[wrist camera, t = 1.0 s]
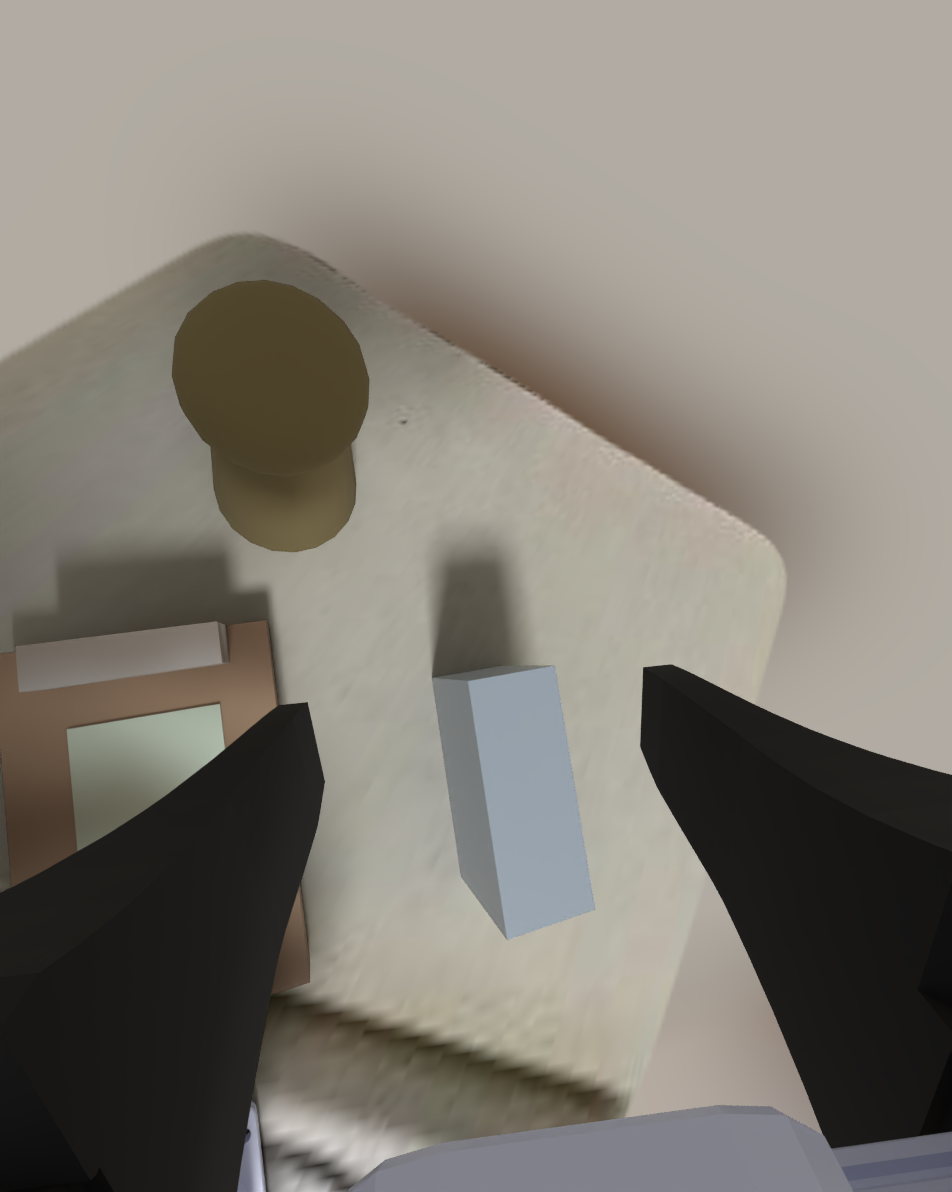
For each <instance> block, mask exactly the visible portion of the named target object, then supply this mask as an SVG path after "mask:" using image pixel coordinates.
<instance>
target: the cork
mask: <svg viewBox="0 0 952 1192" xmlns="http://www.w3.org/2000/svg"><path fill="white" fill-rule="evenodd" d="M172 378H173V382H174V385H175V389H176V393H177V396H178V400H179V403H180V406H181V408H182V410H183V412H184V414H185V415H186V417H187V418H188V420H189V421H190V423H191V424H192V425H193V427H194V428H195V430H196V431H197V433H198V434H199V436H200V437H201V439H202V440H203V441H205V442H206V443H207V444H208V445H210V446H211V458H212V471H213V484H214V491H215V495H216V499H217V502H218V506H219V509H220V511H221V513H222V514H223V515H224V517H225V518H226V520H227V521H228V523H229V524H230V526H231V527H232V528H233V529H234V530H235V531H236V532H238V533H239V534H240V535H242V536H243V537H244V538H246V539H247V540H248V541H250V542H251V543H254V544H256V545H259V546H262V547H264V548H267V549H270V550H272V551H285V552H298V551H303V550H307V549H311V548H316V547H318V546H320V545H321V544H323V543H325V542H326V541H328V540H330V539H332V538H333V537H335V536H336V535H337V533H338V532H339V531H340V530H341V529H342V528H343V527H344V525H345V524H346V523H347V522H348V520H349V518H350V515H351V513H352V510H353V508H354V505H355V498H356V479H355V472H354V465H353V458H352V451H351V443H352V442H353V441H354V440H355V439H356V438H357V435H358V433H359V430H360V428H361V425H362V423H363V420H364V418H365V416H366V412H367V409H368V400H369V377H368V373H367V369H366V366H365V362H364V359H363V356H362V352H361V349H360V345H359V343H358V342H357V340H356V339H355V337H354V336H353V334H352V333H351V331H350V330H349V328H348V327H347V325H346V324H345V322H344V321H343V320H342V319H341V318H340V317H338V316H337V315H336V314H335V313H334V312H333V311H332V310H330V309H329V308H328V307H327V306H326V305H325V304H324V303H322V302H321V301H320V300H319V299H317V298H316V297H314V296H312V295H310V294H308V293H306V292H304V291H302V290H300V289H298V288H296V287H294V286H291V285H286V284H281V283H276V282H271V281H267V280H260V281H245V282H236V283H234V284H231V285H229V286H226V287H224V288H221V289H218V290H216V291H213V292H212V293H211V294H209V295H208V296H207V297H206V298H204V299H203V300H202V301H201V302H200V303H199V304H198V305H196V306H195V307H194V308H193V309H192V310H191V311H189V312H188V313H187V315H186V317H185V319H184V321H183V323H182V325H181V327H180V329H179V331H178V333H177V335H176V336H175V344H174V354H173V365H172Z"/></svg>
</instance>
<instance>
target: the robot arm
mask: <svg viewBox="0 0 952 1192" xmlns="http://www.w3.org/2000/svg"><path fill="white" fill-rule="evenodd" d="M640 747H641V750H642V752H643V755H644V757H645V760H646V762H647V765H648V767H649V770H650V772H651V774H652V777H653V779H654V781H655V783H656V786H657V788H658V790H659V791H660V793H661V795H662V797H663V798H664V800H665V802H666V804H667V805H668V807H669V809H670V810H671V812H672V814H673V816H674V817H675V819H676V821H677V822H678V824H679V826H680V828H681V829H682V831H683V833H684V834H685V836H686V838H687V839H688V841H689V843H690V844H691V846H692V848H693V849H694V851H695V853H696V854H697V856H698V858H699V860H700V861H701V863H702V865H703V866H704V868H705V870H706V871H707V873H708V875H709V876H710V878H711V880H712V882H713V883H714V885H715V887H716V889H717V891H718V893H719V895H720V896H721V898H722V900H723V902H724V904H725V906H726V908H727V910H728V913H729V915H730V917H731V919H732V921H733V923H734V925H735V928H736V929H737V932H738V934H739V936H740V938H741V940H742V943H743V945H744V947H745V949H746V951H747V953H748V955H749V958H750V960H751V962H752V964H753V967H754V969H755V971H756V973H757V976H758V978H759V980H760V983H761V985H762V987H763V990H764V992H765V994H766V996H767V999H768V1001H769V1003H770V1005H771V1007H772V1010H773V1012H774V1015H775V1017H776V1019H777V1022H778V1024H779V1027H780V1029H781V1032H782V1034H783V1036H784V1039H785V1041H786V1044H787V1046H788V1048H789V1050H790V1053H791V1056H792V1058H793V1060H794V1063H795V1065H796V1068H797V1070H798V1072H799V1075H800V1077H801V1080H802V1082H803V1085H804V1087H805V1090H806V1092H807V1095H808V1097H809V1100H810V1103H811V1105H812V1107H813V1110H814V1113H815V1115H816V1118H817V1120H818V1123H819V1126H820V1128H821V1131H822V1133H823V1135H822V1134H820V1133H818V1132H817V1131H815V1130H813V1129H811V1128H809V1127H808V1126H806V1125H804V1124H802V1123H800V1122H798V1121H797V1120H794V1119H793V1118H791V1117H789V1116H787V1115H785V1114H783V1113H782V1112H780V1111H778V1110H776V1109H774V1108H772V1107H766V1106H726V1105H715V1106H708V1107H701V1108H693V1109H686V1110H679V1111H672V1112H664V1113H657V1114H650V1115H642V1116H636V1117H628V1118H621V1119H613V1120H606V1121H599V1122H591V1123H584V1124H577V1125H570V1126H562V1127H555V1128H548V1129H541V1130H533V1131H526V1132H519V1133H511V1134H504V1135H497V1136H490V1137H482V1138H475V1139H468V1140H461V1141H453V1142H446V1143H440V1144H437V1145H433V1146H430V1147H427V1148H423V1149H420V1150H417V1151H413V1152H410V1153H407V1154H403V1155H400V1156H397V1157H393V1158H390V1159H387V1160H385V1161H383V1162H382V1163H381V1164H380V1165H378V1166H377V1167H376V1168H375V1169H373V1170H372V1171H371V1172H370V1173H369V1174H367V1175H366V1176H365V1177H364V1178H362V1179H361V1180H360V1181H359V1182H357V1183H356V1184H355V1185H354V1186H352V1187H351V1188H350V1189H349V1190H348V1191H347V1192H952V775H950V774H946V773H942V772H938V771H934V770H931V769H927V768H924V767H920V766H917V765H914V764H910V763H906V762H903V761H900V760H896V759H893V758H889V757H886V756H883V755H880V754H877V753H874V752H871V751H868V750H864V749H862V748H859V747H856V746H853V745H850V744H848V743H845V742H842V741H840V740H837V739H834V738H831V737H828V736H826V735H823V734H821V733H818V732H815V731H813V730H810V729H808V728H805V727H803V726H801V725H799V724H796V723H794V722H792V721H789V720H787V719H785V718H782V717H780V716H778V715H775V714H773V713H771V712H769V711H767V710H765V709H763V708H760V707H758V706H756V705H754V704H752V703H750V702H748V701H746V700H744V699H742V698H740V697H738V696H736V695H734V694H732V693H730V692H728V691H726V690H724V689H722V688H720V687H718V686H716V685H714V684H712V683H710V682H708V681H706V680H704V679H702V678H700V677H698V676H696V675H694V674H692V673H690V672H688V671H686V670H683V669H681V668H679V667H676V666H674V665H662V666H652V667H643V689H642V715H641V742H640ZM324 783H325V780H324V776H323V771H322V767H321V762H320V757H319V753H318V748H317V744H316V739H315V735H314V730H313V725H312V721H311V716H310V712H309V707H308V702H306V703H296V704H287V705H278V706H277V707H275V708H274V709H273V710H271V711H270V712H269V713H267V714H266V715H265V716H264V717H262V718H261V719H260V720H259V721H258V722H256V723H255V724H254V725H253V726H252V727H250V728H249V729H248V730H247V731H246V732H245V733H243V734H242V735H241V736H240V737H239V738H237V739H236V740H235V741H234V742H233V743H231V744H230V745H229V746H228V747H227V748H225V749H224V750H223V751H222V752H221V753H219V754H218V755H217V756H216V757H215V758H213V759H212V760H211V761H210V762H209V763H207V764H206V765H205V766H203V767H202V768H201V769H199V770H198V771H197V772H196V773H194V774H193V775H192V776H190V777H189V778H188V779H186V780H185V781H184V782H183V783H181V784H180V785H179V786H177V787H176V788H175V789H173V790H172V791H171V792H169V793H168V794H167V795H165V796H164V797H163V798H161V799H160V800H158V801H157V802H156V803H154V804H153V805H151V806H150V807H148V808H147V809H145V810H144V811H142V812H141V813H139V814H138V815H136V816H135V817H133V818H132V819H130V820H129V821H127V822H126V823H124V824H122V825H121V826H119V827H118V828H116V829H115V830H113V831H112V832H110V833H108V834H107V835H105V836H103V837H102V838H100V839H98V840H97V841H95V842H93V843H91V844H90V845H88V846H86V847H84V848H83V849H81V850H79V851H77V852H76V853H74V854H72V855H70V856H69V857H67V858H65V859H63V860H62V861H60V862H58V863H56V864H55V865H53V866H51V867H49V868H48V869H46V870H44V871H42V872H40V873H38V874H36V875H35V876H33V877H31V878H29V879H27V880H25V881H23V882H21V883H19V884H17V885H15V886H13V887H11V888H9V889H7V890H5V891H3V892H1V893H0V1192H266V1185H265V1176H264V1168H263V1159H262V1150H261V1141H260V1132H259V1123H258V1114H257V1108H256V1105H255V1104H254V1103H253V1102H252V1095H253V1089H254V1083H255V1077H256V1072H257V1066H258V1061H259V1055H260V1050H261V1045H262V1039H263V1034H264V1028H265V1023H266V1017H267V1012H268V1007H269V1002H270V997H271V992H272V988H273V983H274V978H275V973H276V968H277V963H278V958H279V954H280V950H281V947H282V943H283V939H284V935H285V931H286V928H287V925H288V922H289V918H290V915H291V912H292V909H293V905H294V902H295V899H296V896H297V892H298V889H299V886H300V883H301V879H302V876H303V873H304V870H305V866H306V863H307V860H308V856H309V853H310V850H311V846H312V843H313V840H314V836H315V833H316V829H317V826H318V820H319V815H320V809H321V803H322V796H323V790H324ZM247 1129H249V1130H250V1132H249V1133H248V1134H246V1132H247Z"/></svg>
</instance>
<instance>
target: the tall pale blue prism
mask: <svg viewBox="0 0 952 1192" xmlns="http://www.w3.org/2000/svg"><path fill="white" fill-rule="evenodd" d="M432 682H433V689H434V696H435V702H436V709H437V716H438V723H439V730H440V737H441V743H442V750H443V757H444V764H445V771H446V778H447V784H448V791H449V798H450V805H451V812H452V819H453V825H454V832H455V839H456V846H457V853H458V860H459V866H460V873H461V877H462V879H463V880H464V882H465V883H466V884H467V886H468V887H469V888H470V890H471V891H472V893H473V894H474V895H475V897H476V898H477V899H478V901H479V902H480V903H481V905H482V906H483V908H484V909H485V910H486V912H487V913H488V914H489V916H490V917H491V919H492V920H493V921H494V923H495V924H496V925H497V927H498V928H499V930H500V931H501V932H502V934H503V935H504V936H505V938H506V939H507V940H509V939H511V938H514V937H517V936H520V935H523V934H526V933H529V932H532V931H535V930H537V929H540V928H543V927H546V926H549V925H552V924H555V923H558V922H561V921H563V920H566V919H569V918H572V917H575V916H578V915H581V914H584V913H586V912H589V911H592V910H595V905H594V899H593V893H592V887H591V881H590V875H589V869H588V863H587V857H586V851H585V845H584V839H583V833H582V826H581V820H580V814H579V808H578V802H577V796H576V790H575V784H574V778H573V772H572V766H571V760H570V754H569V748H568V742H567V736H566V730H565V724H564V718H563V711H562V705H561V699H560V693H559V687H558V681H557V675H556V669H555V666H497V667H491V668H486V669H480V670H474V671H468V672H463V673H457V674H451V675H445V676H440V677H434V678H432Z"/></svg>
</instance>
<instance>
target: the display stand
mask: <svg viewBox="0 0 952 1192" xmlns="http://www.w3.org/2000/svg"><path fill="white" fill-rule="evenodd" d="M15 649H16V652H9V653H1V654H0V750H1V763H2V775H3V788H4V800H5V813H6V825H7V838H8V850H9V863H10V876H11V887H13V886H15V885H17V884H19V883H21V882H23V881H25V880H27V879H29V878H31V877H33V876H35V875H36V874H38V873H40V872H42V871H44V870H46V869H48V868H49V867H51V866H53V865H55V864H56V863H58V862H60V861H62V860H63V859H65V858H67V857H69V856H70V855H72V854H74V853H76V852H77V851H79V850H81V849H83V848H84V847H86V846H88V845H90V844H91V843H93V842H95V841H97V840H98V839H100V838H102V837H103V836H105V835H107V834H108V833H110V832H112V831H113V830H115V829H116V828H118V827H119V826H121V825H122V824H124V823H126V822H127V821H129V820H130V819H132V818H133V817H135V816H136V815H138V814H139V813H141V812H142V811H144V810H145V809H147V808H148V807H150V806H151V805H153V804H154V803H156V802H157V801H158V800H160V799H161V798H163V797H164V796H165V795H167V794H168V793H169V792H171V791H172V790H173V789H175V788H176V787H177V786H179V785H180V784H181V783H183V782H184V781H185V780H186V779H188V778H189V777H190V776H192V775H193V774H194V773H196V772H197V771H198V770H199V769H201V768H202V767H203V766H205V765H206V764H207V763H209V762H210V761H211V760H212V759H213V758H215V757H216V756H217V755H218V754H219V753H221V752H222V751H223V750H224V749H225V748H227V747H228V746H229V745H230V744H231V743H233V742H234V741H235V740H236V739H237V738H239V737H240V736H241V735H242V734H243V733H245V732H246V731H247V730H248V729H249V728H250V727H252V726H253V725H254V724H255V723H256V722H258V721H259V720H260V719H261V718H262V717H264V716H265V715H266V714H267V713H269V712H270V711H271V710H273V709H274V708H275V707H277V706H278V698H277V690H276V681H275V673H274V665H273V657H272V649H271V641H270V632H269V624H268V622H267V621H266V620H263V621H255V622H247V623H239V624H231V625H224V624H222V623H220V622H218V621H215V622H207V623H199V624H191V625H183V626H174V627H166V628H158V629H150V630H142V631H134V632H126V633H118V634H110V635H102V636H93V637H85V638H77V639H69V640H61V641H53V642H45V643H37V644H29V645H20V646H15ZM309 982H310V959H309V951H308V943H307V935H306V927H305V918H304V910H303V902H302V894H301V886H299V889H298V892H297V896H296V899H295V902H294V905H293V909H292V912H291V915H290V918H289V922H288V925H287V928H286V931H285V935H284V939H283V943H282V947H281V950H280V954H279V958H278V963H277V968H276V973H275V978H274V983H273V988H272V992H271V995H273V994H276V993H279V992H282V991H285V990H288V989H291V988H294V987H297V986H300V985H303V984H306V983H309Z"/></svg>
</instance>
